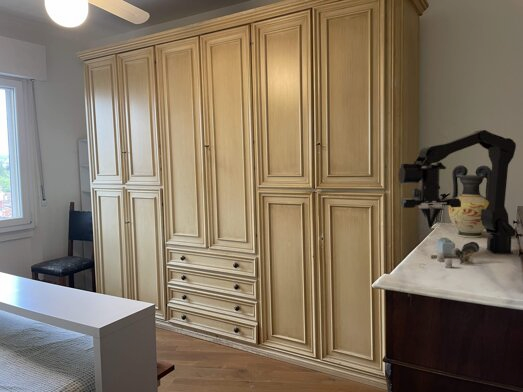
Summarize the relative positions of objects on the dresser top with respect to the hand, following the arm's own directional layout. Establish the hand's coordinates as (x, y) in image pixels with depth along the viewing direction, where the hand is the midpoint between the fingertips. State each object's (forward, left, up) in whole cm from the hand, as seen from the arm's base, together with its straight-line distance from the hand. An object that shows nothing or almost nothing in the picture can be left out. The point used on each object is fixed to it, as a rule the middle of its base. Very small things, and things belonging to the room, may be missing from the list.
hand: (429, 227), depth 142 cm
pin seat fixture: (-4, +8, -10) cm, 13 cm away
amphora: (-26, -34, -10) cm, 44 cm away
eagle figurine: (-8, +10, -10) cm, 17 cm away
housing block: (-5, +1, -10) cm, 11 cm away
